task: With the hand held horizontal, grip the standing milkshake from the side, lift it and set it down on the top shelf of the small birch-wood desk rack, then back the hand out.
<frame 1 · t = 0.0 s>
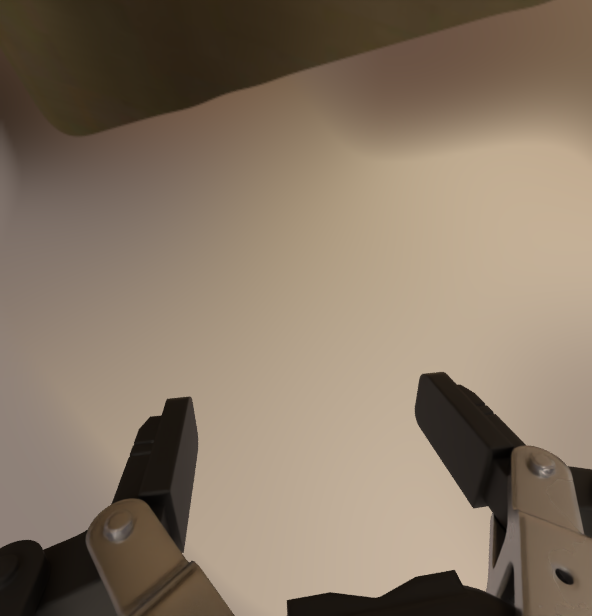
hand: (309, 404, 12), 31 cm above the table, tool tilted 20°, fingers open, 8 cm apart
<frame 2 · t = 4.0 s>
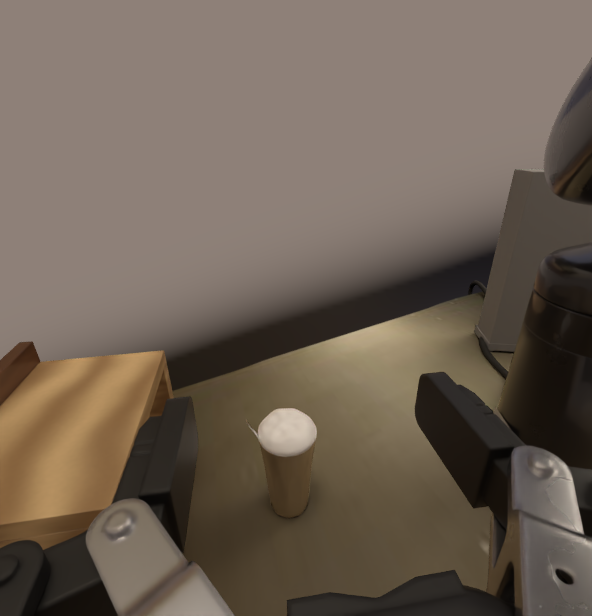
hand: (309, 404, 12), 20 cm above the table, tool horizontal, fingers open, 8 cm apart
milkshake: (285, 503, 30), on the table
desk rack: (102, 531, 28), on the table
cassette tape recorder: (526, 345, 54), on the table
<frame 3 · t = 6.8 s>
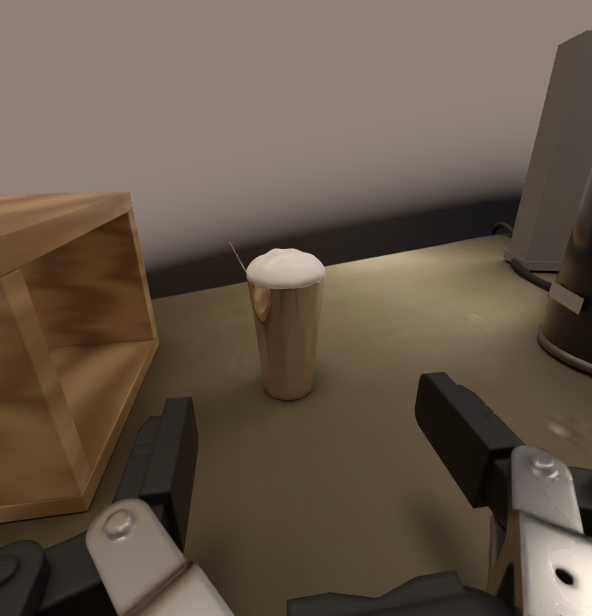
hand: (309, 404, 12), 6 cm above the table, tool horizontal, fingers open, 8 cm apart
milkshake: (282, 389, 23), on the table
desk rack: (40, 411, 21), on the table
cassette tape recorder: (566, 268, 46), on the table
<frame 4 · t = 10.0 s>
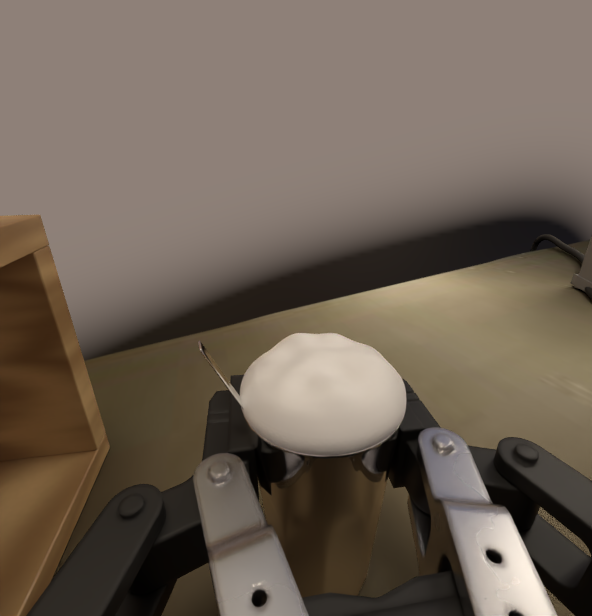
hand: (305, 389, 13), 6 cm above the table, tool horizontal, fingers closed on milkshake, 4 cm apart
milkshake: (310, 572, 13), on the table, touching gripper
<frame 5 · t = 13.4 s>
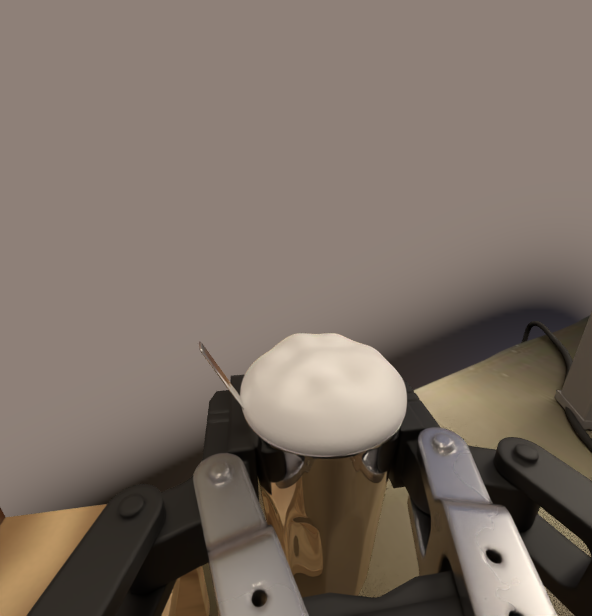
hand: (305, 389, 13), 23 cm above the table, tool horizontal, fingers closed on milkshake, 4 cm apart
milkshake: (311, 573, 13), point 16 cm above the table, touching gripper
when the fingers open (18 cm above the table, at t = 16.9 s): milkshake stays where it is, resting on desk rack.
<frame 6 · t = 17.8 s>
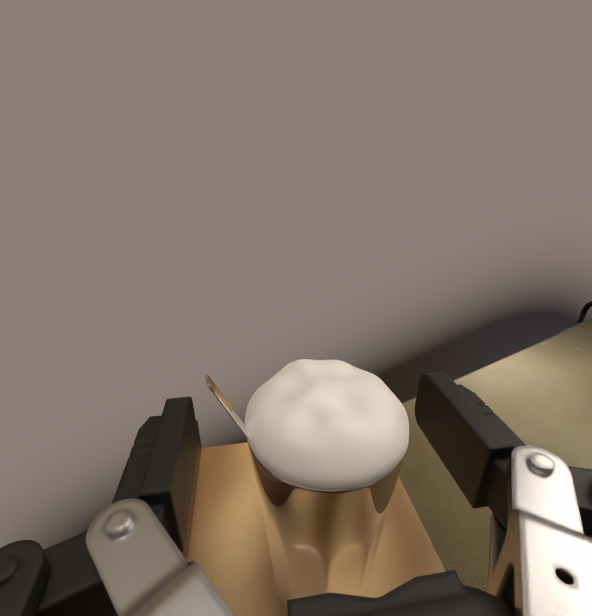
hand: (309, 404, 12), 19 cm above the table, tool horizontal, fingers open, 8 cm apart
milkshake: (310, 590, 13), point 12 cm above the table, touching desk rack
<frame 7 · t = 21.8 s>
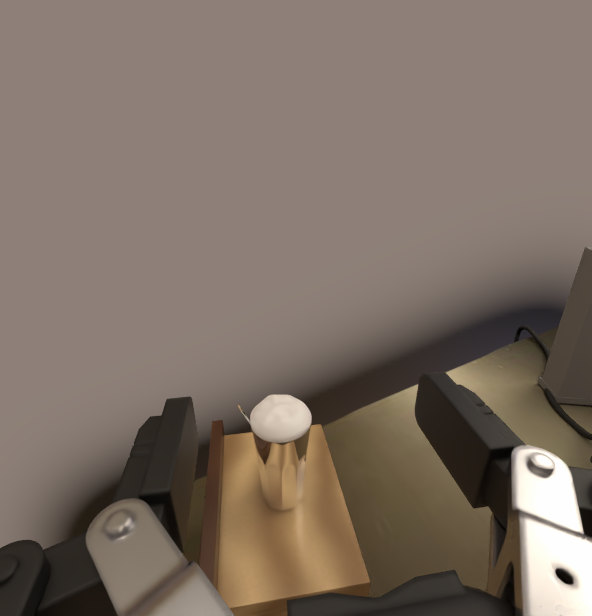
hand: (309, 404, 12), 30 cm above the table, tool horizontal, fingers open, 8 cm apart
milkshake: (278, 496, 29), point 12 cm above the table, touching desk rack
desk rack: (279, 580, 34), on the table
cassette tape recorder: (588, 396, 59), on the table
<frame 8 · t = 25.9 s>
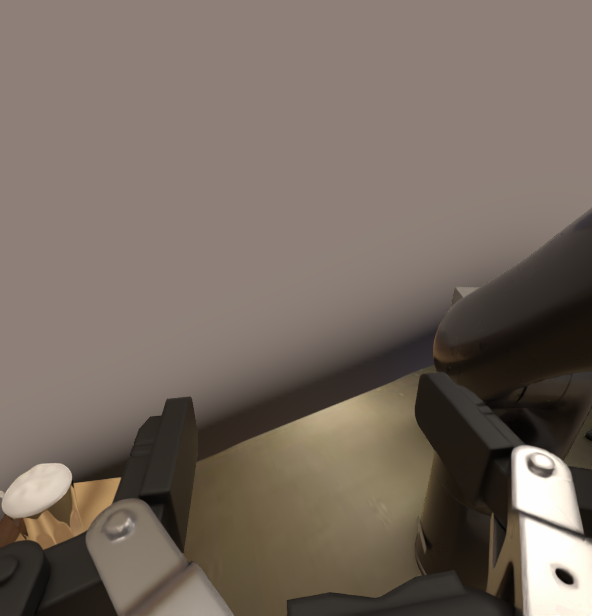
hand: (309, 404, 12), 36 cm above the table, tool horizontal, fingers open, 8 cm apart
milkshake: (62, 555, 31), point 12 cm above the table, touching desk rack
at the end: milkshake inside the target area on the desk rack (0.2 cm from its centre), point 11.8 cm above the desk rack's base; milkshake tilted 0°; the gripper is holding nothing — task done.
